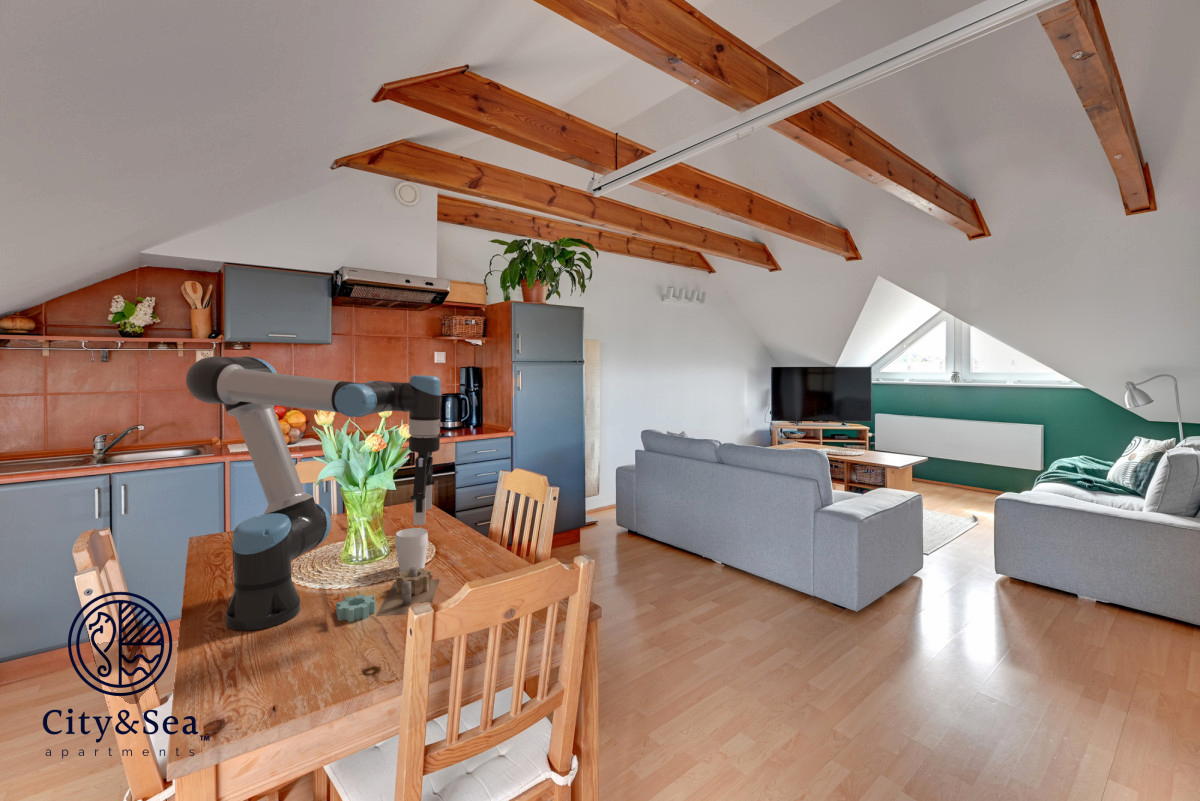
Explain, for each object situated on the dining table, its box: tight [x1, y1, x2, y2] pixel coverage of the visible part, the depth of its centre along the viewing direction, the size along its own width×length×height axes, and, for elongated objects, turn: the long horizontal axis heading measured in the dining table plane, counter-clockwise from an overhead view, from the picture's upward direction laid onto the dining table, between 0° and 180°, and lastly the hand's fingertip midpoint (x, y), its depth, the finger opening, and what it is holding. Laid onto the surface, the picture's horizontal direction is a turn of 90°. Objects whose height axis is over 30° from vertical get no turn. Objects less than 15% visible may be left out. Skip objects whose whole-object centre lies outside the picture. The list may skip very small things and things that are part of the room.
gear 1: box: [335, 593, 377, 623], centre depth 127 cm, size 9×9×4 cm
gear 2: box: [395, 567, 431, 595], centre depth 141 cm, size 9×9×4 cm
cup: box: [394, 527, 429, 572], centre depth 154 cm, size 9×9×12 cm
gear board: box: [375, 567, 440, 617], centre depth 136 cm, size 12×20×7 cm, turn 9°
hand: (422, 516), depth 137 cm, fingers open, 13 cm apart
